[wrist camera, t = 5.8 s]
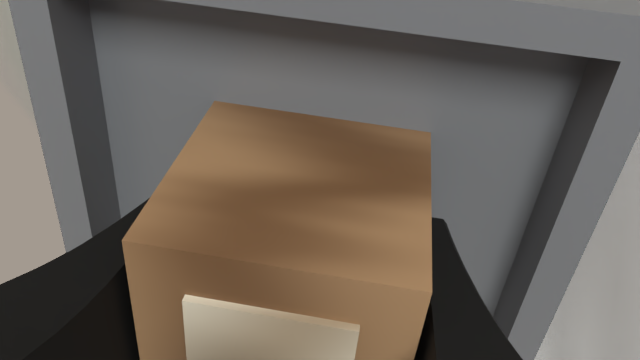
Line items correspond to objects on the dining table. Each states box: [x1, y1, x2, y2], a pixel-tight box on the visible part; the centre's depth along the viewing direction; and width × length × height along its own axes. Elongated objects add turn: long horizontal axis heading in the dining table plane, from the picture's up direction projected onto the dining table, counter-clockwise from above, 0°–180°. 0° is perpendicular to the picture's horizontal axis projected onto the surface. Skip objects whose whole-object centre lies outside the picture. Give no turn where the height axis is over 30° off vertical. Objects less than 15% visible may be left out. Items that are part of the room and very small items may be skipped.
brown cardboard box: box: [122, 101, 432, 360], centre depth 13 cm, size 5×5×5 cm
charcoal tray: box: [8, 0, 640, 360], centre depth 14 cm, size 12×12×2 cm
